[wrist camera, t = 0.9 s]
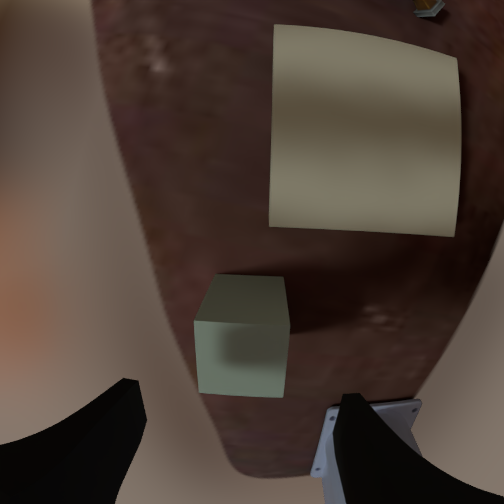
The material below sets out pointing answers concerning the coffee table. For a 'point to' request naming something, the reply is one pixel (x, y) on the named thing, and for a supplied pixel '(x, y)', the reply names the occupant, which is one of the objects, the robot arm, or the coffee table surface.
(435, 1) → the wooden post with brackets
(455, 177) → the beige flat square block
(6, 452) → the robot arm
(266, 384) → the sage block
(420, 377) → the coffee table surface
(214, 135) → the coffee table surface
